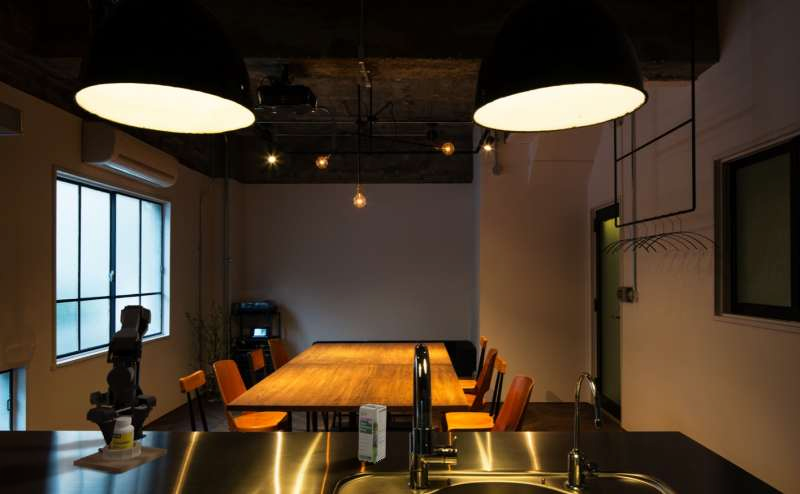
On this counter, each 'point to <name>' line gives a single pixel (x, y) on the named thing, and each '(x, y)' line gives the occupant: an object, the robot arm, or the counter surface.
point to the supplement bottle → (122, 434)
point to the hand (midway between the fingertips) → (122, 439)
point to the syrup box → (372, 432)
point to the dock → (119, 464)
